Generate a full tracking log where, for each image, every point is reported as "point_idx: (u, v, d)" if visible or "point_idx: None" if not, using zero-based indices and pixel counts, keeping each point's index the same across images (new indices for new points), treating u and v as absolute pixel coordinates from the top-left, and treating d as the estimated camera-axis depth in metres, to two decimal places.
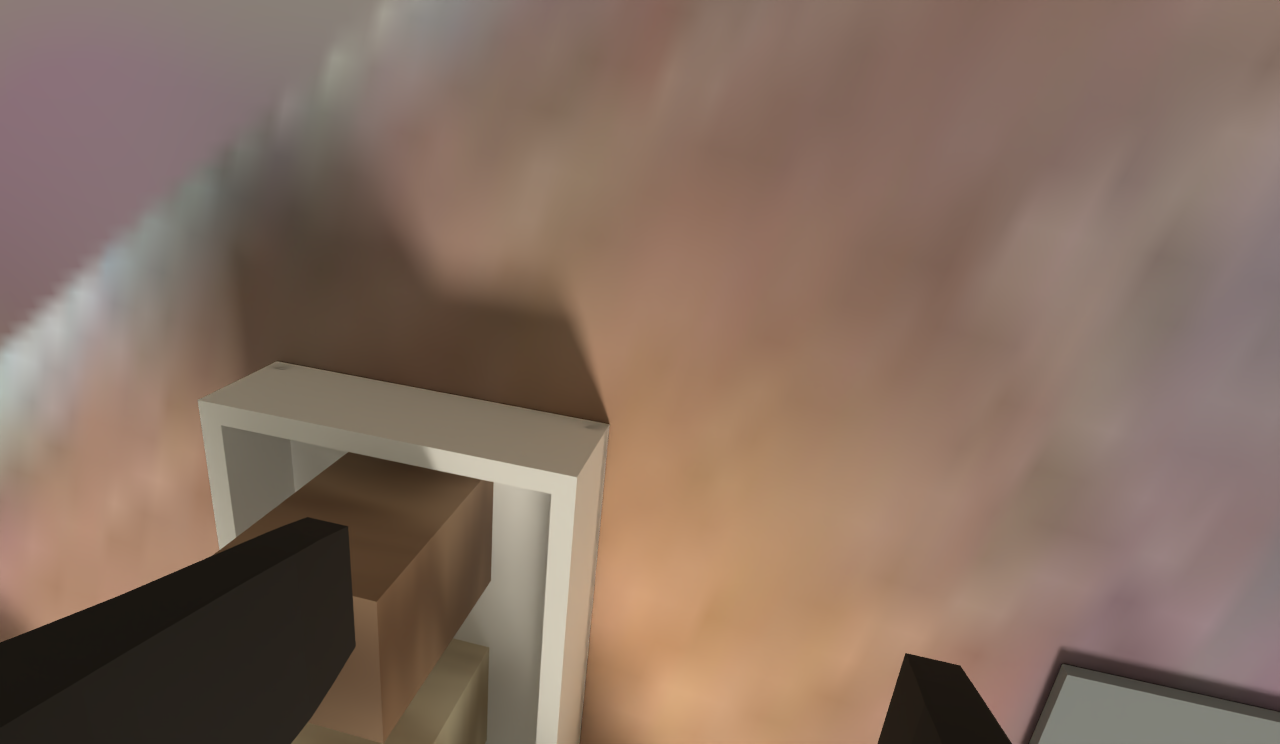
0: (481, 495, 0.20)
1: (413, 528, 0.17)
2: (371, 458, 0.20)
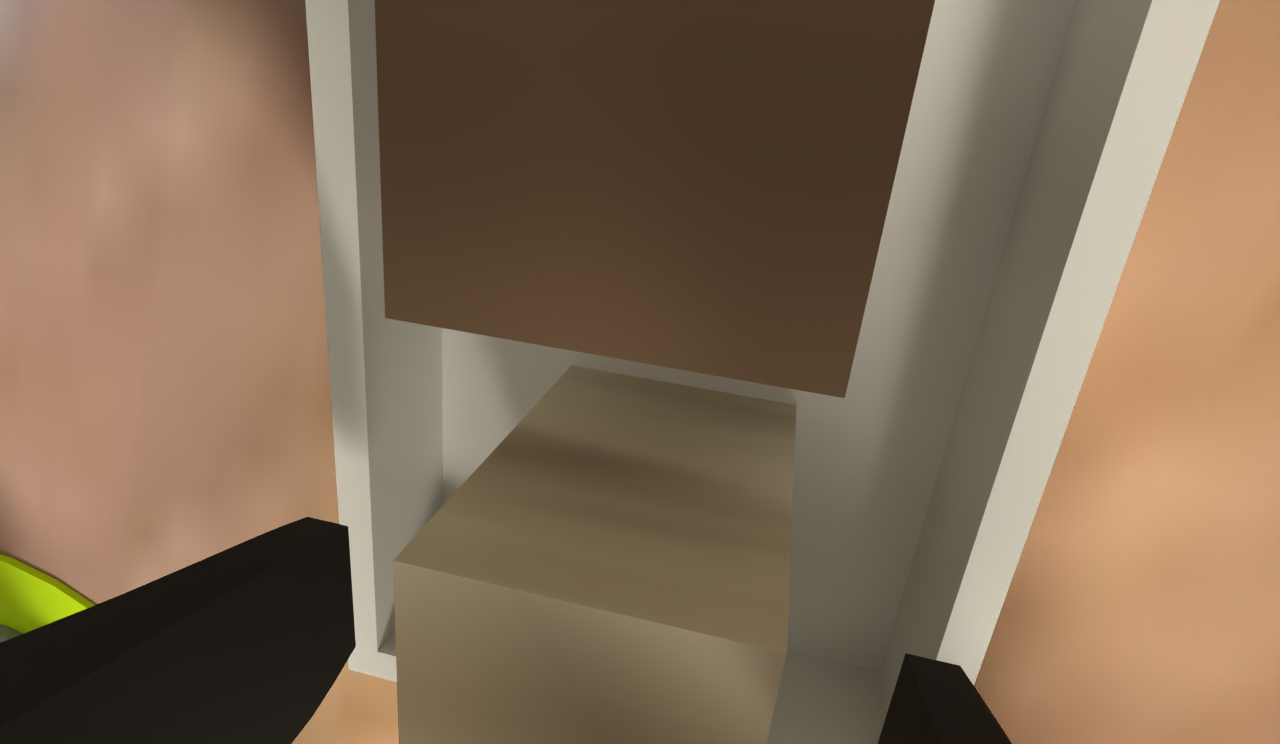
0: None
1: None
2: None
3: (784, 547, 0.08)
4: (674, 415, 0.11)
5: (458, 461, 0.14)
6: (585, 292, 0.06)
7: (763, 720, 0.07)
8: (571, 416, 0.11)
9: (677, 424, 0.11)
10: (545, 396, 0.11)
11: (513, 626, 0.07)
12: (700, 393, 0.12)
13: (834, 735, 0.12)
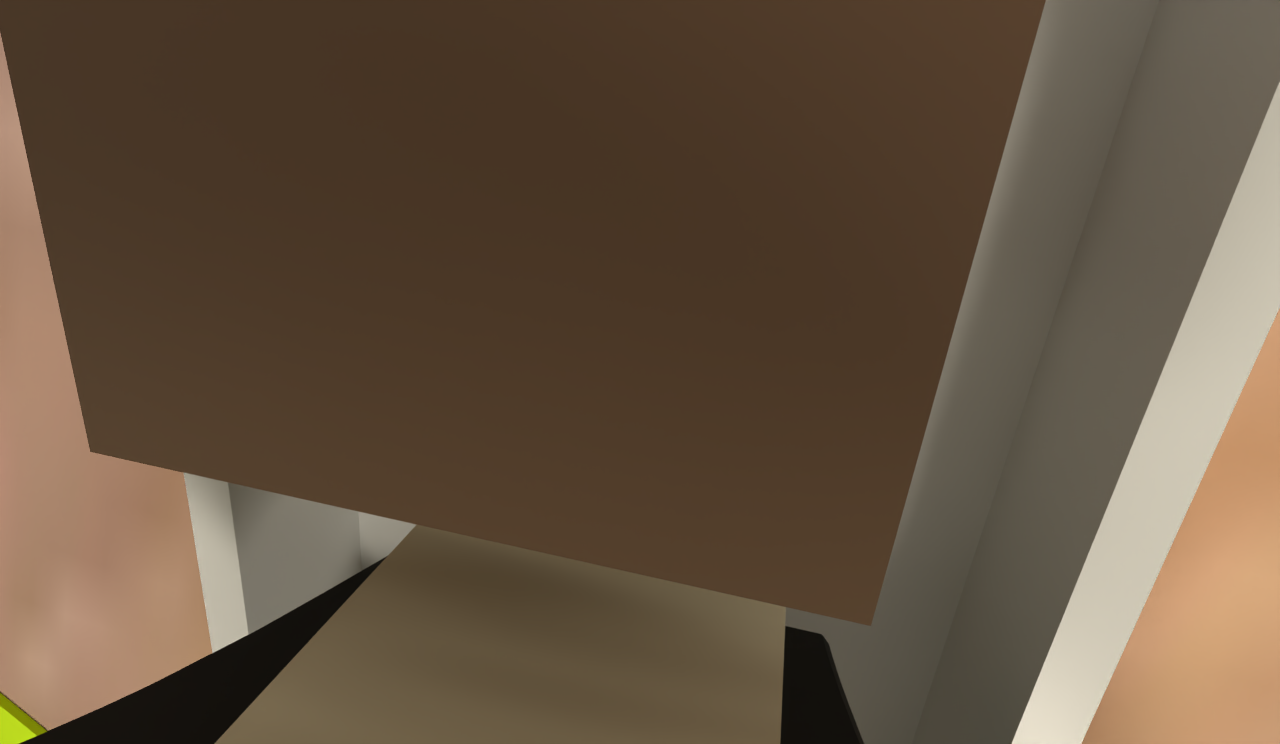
0: None
1: None
2: None
3: (770, 737, 0.06)
4: None
5: (378, 534, 0.11)
6: (405, 425, 0.03)
7: None
8: None
9: None
10: None
11: None
12: None
13: None
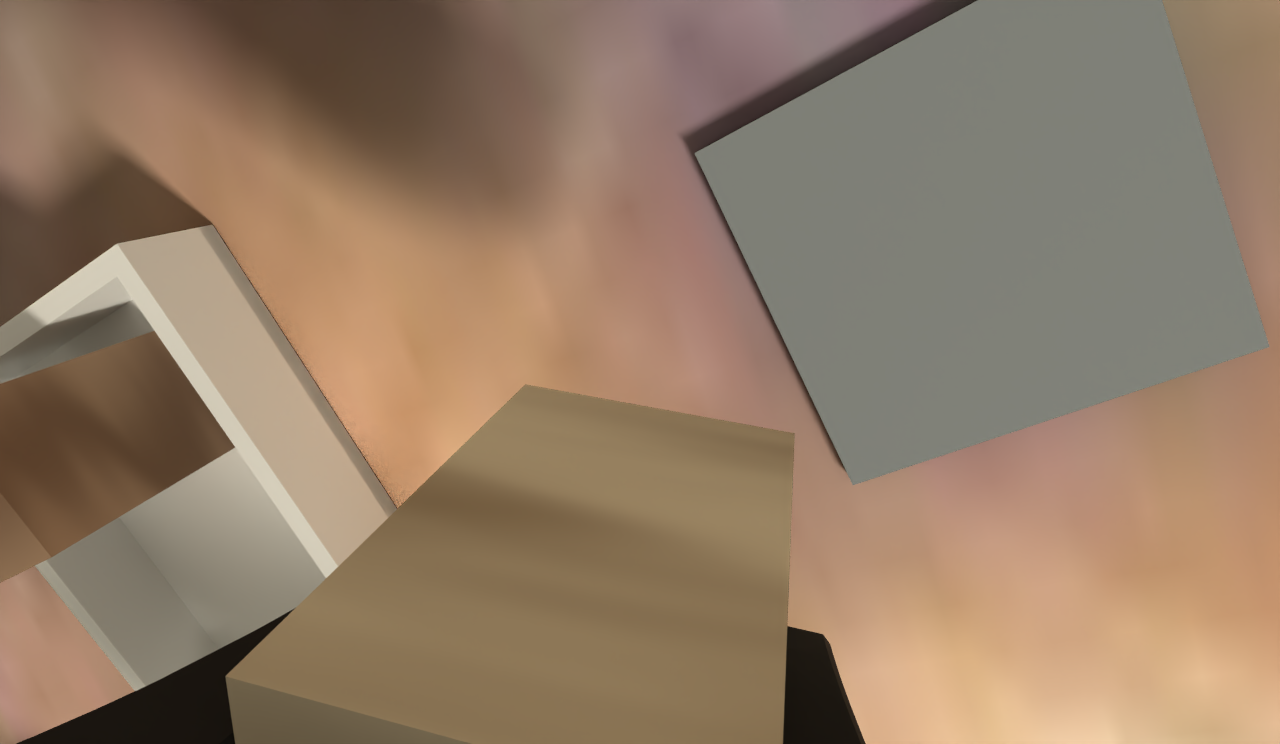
0: (152, 351, 0.20)
1: None
2: None
3: (778, 640, 0.06)
4: (644, 448, 0.09)
5: (208, 624, 0.25)
6: None
7: None
8: (515, 451, 0.09)
9: (647, 460, 0.09)
10: (486, 425, 0.09)
11: None
12: (678, 418, 0.10)
13: None
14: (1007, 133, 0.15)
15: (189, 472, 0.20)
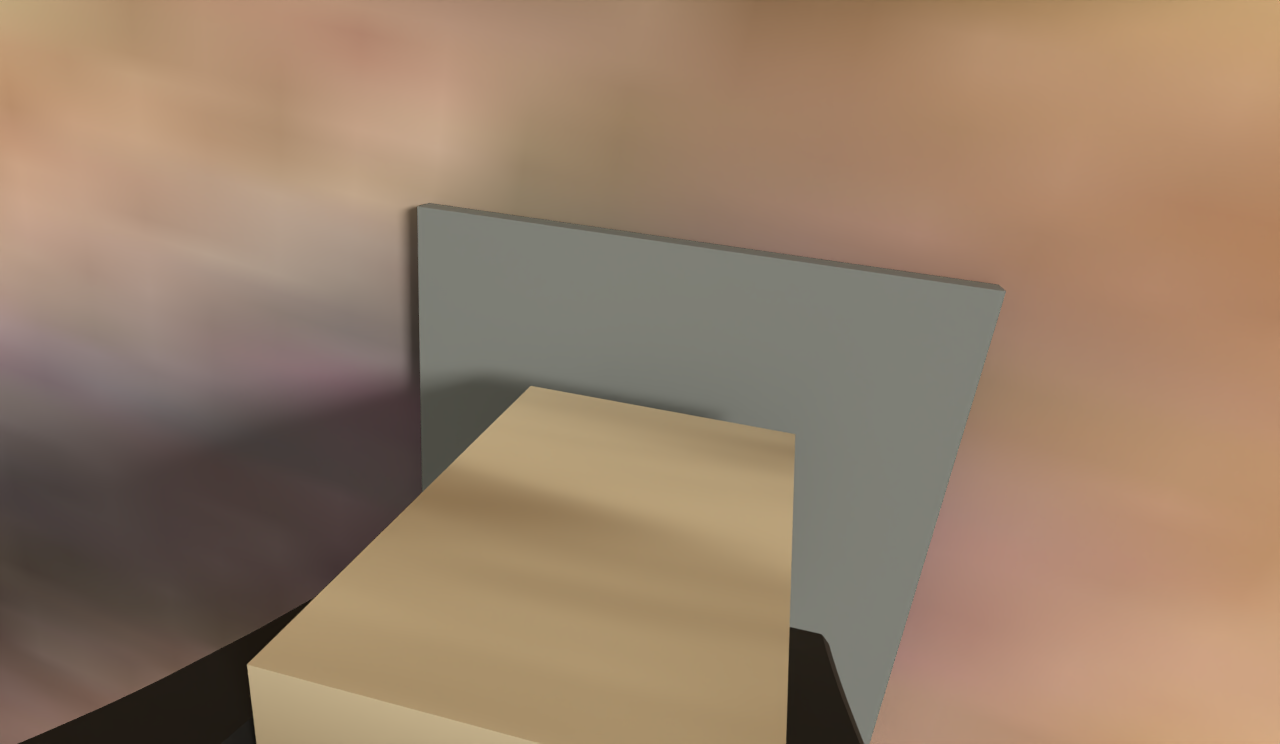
0: None
1: None
2: None
3: (780, 633, 0.06)
4: (648, 448, 0.09)
5: None
6: None
7: None
8: (522, 449, 0.09)
9: (651, 460, 0.09)
10: (493, 425, 0.09)
11: None
12: (681, 419, 0.10)
13: None
14: None
15: None
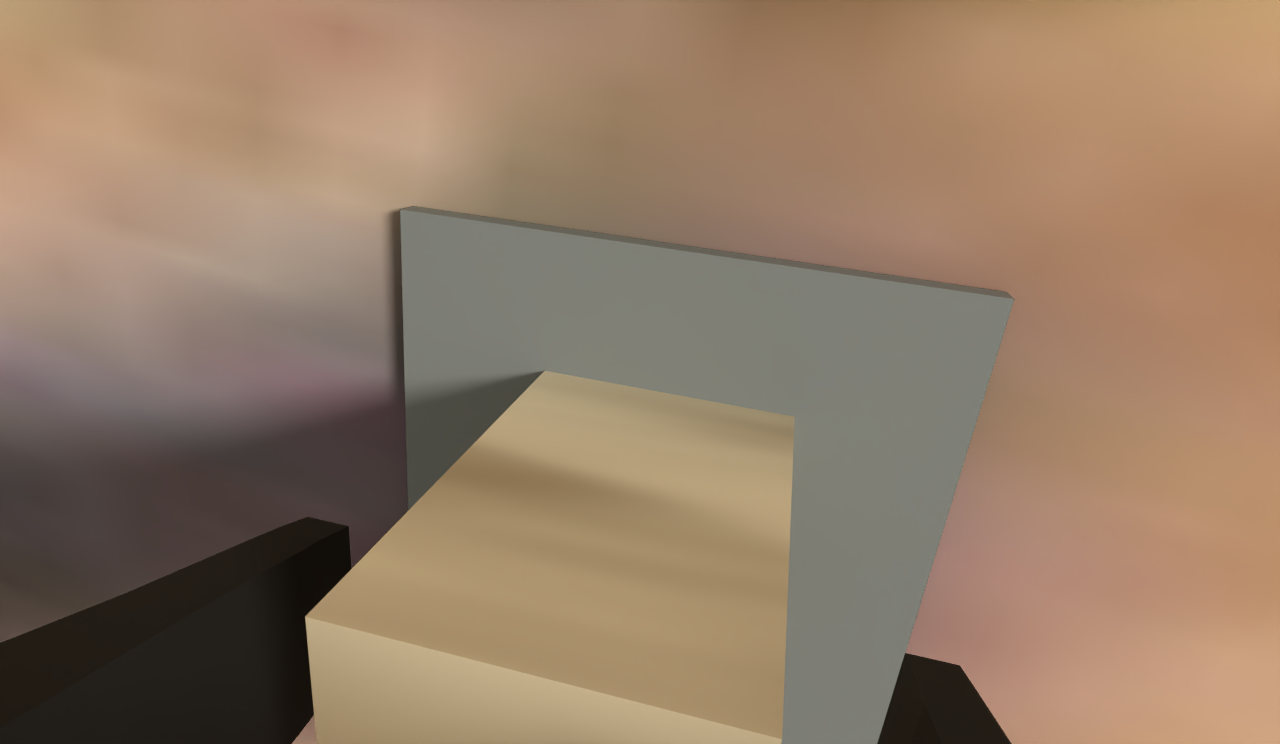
0: None
1: None
2: None
3: (780, 593, 0.07)
4: (657, 429, 0.10)
5: None
6: None
7: None
8: (540, 430, 0.10)
9: (660, 440, 0.10)
10: (512, 407, 0.10)
11: (452, 697, 0.06)
12: (687, 402, 0.11)
13: None
14: None
15: None
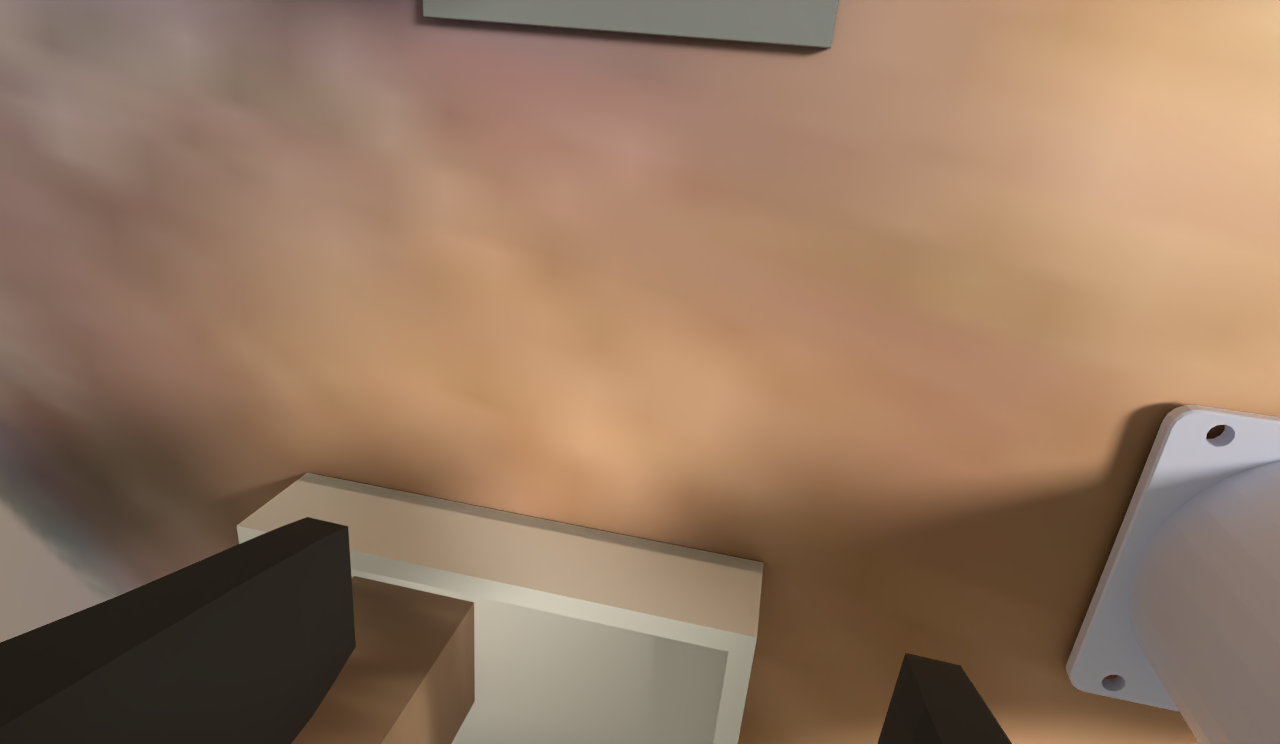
0: (355, 595, 0.22)
1: None
2: None
3: None
4: None
5: None
6: None
7: None
8: None
9: None
10: None
11: None
12: None
13: (726, 660, 0.18)
14: None
15: (441, 648, 0.20)
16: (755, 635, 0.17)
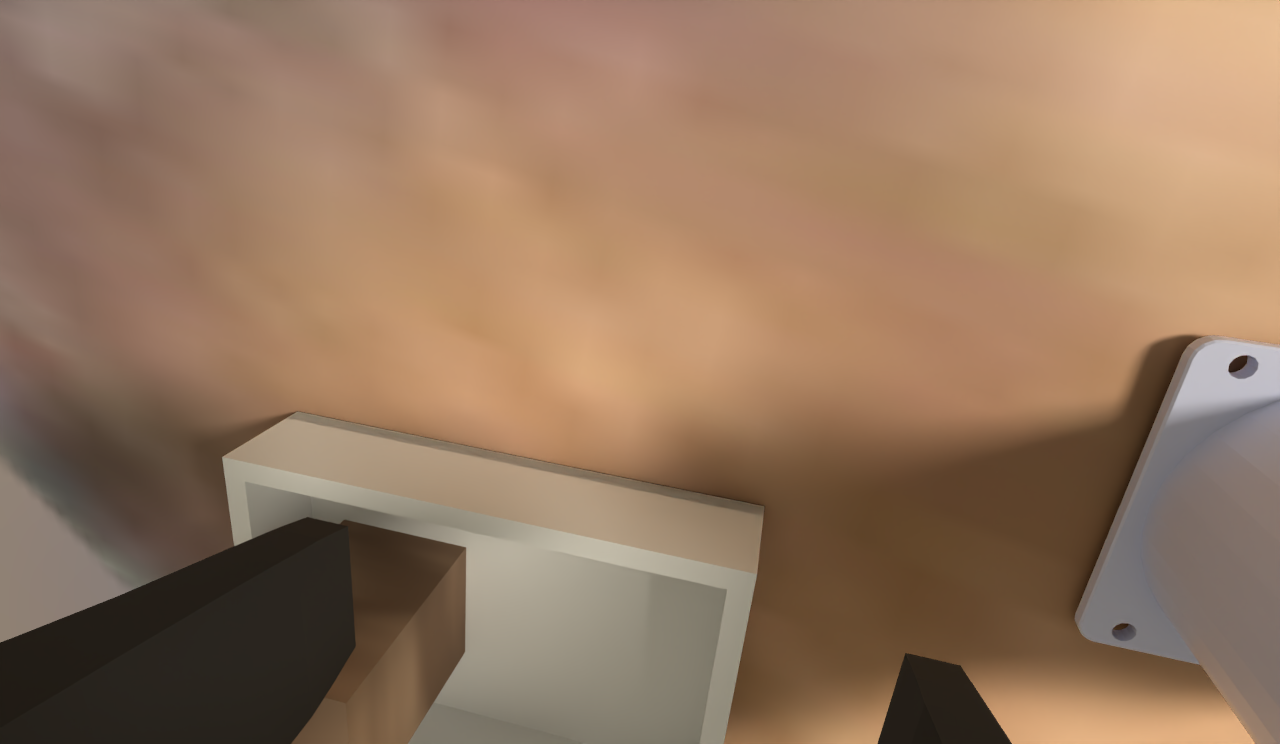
0: None
1: None
2: None
3: None
4: None
5: (612, 742, 0.23)
6: None
7: None
8: None
9: None
10: None
11: None
12: None
13: None
14: None
15: (431, 589, 0.19)
16: (755, 572, 0.16)
